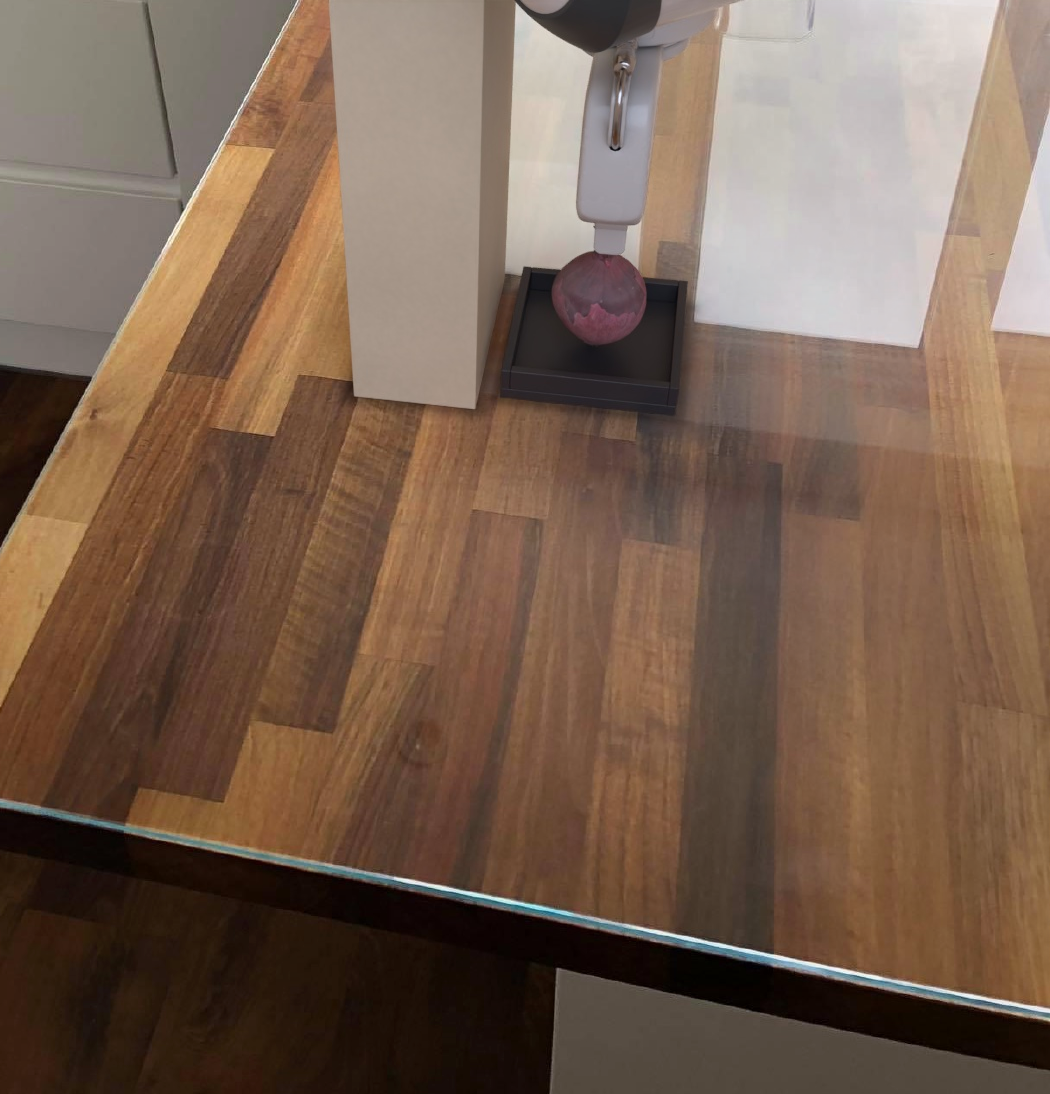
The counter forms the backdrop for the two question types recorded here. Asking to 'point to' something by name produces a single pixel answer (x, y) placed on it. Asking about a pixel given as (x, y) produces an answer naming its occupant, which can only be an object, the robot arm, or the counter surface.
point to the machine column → (423, 189)
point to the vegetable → (599, 297)
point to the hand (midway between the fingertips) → (616, 202)
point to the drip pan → (595, 352)
